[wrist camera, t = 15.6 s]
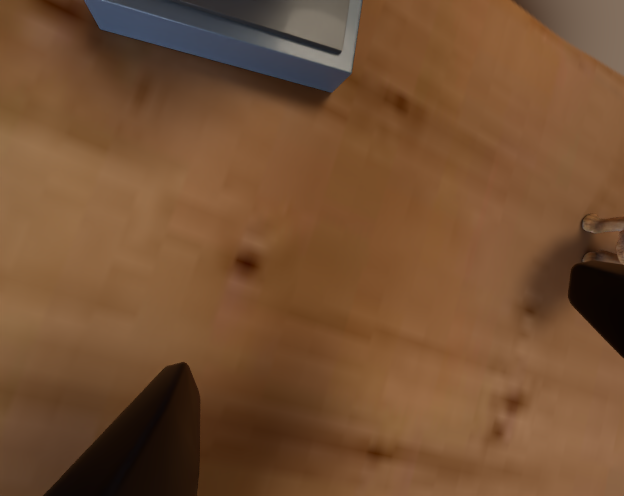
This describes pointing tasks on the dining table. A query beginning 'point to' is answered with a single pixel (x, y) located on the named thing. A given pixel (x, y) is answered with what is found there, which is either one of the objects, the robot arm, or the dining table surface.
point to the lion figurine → (605, 225)
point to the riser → (247, 33)
